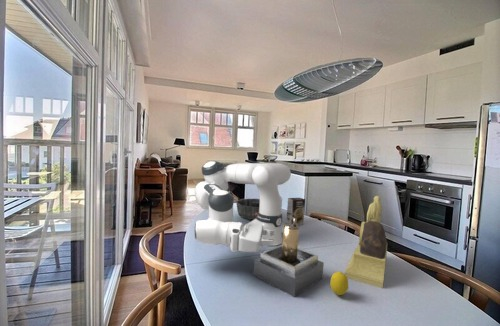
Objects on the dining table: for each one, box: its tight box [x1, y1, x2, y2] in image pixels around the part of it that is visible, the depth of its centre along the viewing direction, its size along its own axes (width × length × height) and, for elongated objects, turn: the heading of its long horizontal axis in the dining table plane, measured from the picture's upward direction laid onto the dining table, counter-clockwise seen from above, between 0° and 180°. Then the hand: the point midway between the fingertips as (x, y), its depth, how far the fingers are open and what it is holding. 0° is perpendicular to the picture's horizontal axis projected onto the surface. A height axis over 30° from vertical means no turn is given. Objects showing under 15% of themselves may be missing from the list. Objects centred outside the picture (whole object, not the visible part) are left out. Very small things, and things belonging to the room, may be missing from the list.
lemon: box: [329, 271, 349, 297], centre depth 84 cm, size 6×6×8 cm
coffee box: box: [285, 197, 306, 226], centre depth 160 cm, size 9×6×16 cm
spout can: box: [281, 218, 300, 264], centre depth 94 cm, size 6×6×16 cm
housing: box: [253, 244, 324, 298], centre depth 95 cm, size 18×18×8 cm
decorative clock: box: [344, 195, 388, 289], centre depth 105 cm, size 28×13×30 cm, turn 150°
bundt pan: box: [235, 198, 260, 221], centre depth 172 cm, size 26×26×10 cm
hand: (274, 238), depth 94 cm, fingers open, 8 cm apart
